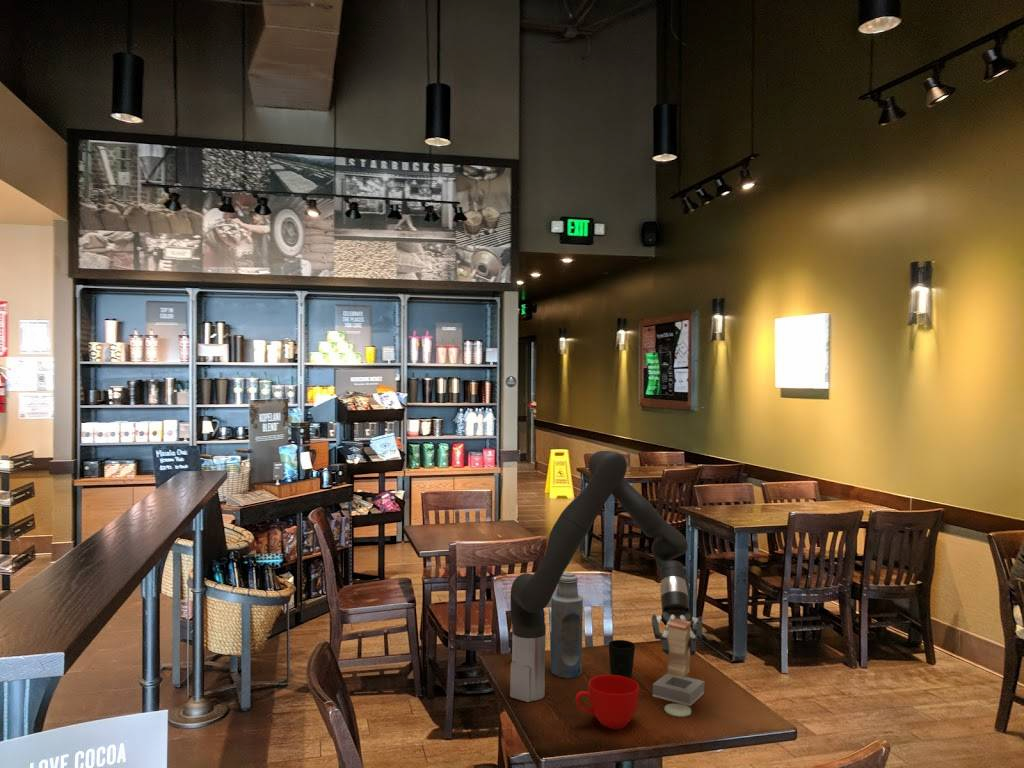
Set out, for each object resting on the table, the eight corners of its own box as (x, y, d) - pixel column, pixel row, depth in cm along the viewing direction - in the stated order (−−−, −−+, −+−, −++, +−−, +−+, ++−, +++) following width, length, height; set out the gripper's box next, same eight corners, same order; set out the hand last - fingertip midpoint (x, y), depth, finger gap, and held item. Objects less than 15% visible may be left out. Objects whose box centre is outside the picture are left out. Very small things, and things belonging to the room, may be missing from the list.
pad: (685, 719, 194) (685, 716, 194) (660, 712, 198) (660, 710, 198) (695, 710, 200) (695, 707, 200) (670, 703, 204) (670, 701, 204)
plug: (684, 678, 197) (685, 627, 196) (666, 674, 199) (667, 624, 199) (689, 671, 201) (691, 621, 200) (672, 667, 204) (673, 618, 203)
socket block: (690, 706, 203) (690, 693, 203) (652, 696, 209) (652, 684, 209) (704, 693, 212) (704, 681, 212) (667, 683, 218) (668, 672, 218)
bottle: (555, 679, 219) (557, 578, 220) (546, 667, 229) (548, 570, 229) (586, 677, 222) (588, 576, 222) (575, 665, 231) (577, 568, 232)
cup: (633, 692, 212) (634, 649, 212) (606, 689, 213) (607, 647, 213) (634, 681, 219) (635, 641, 219) (608, 679, 221) (609, 638, 221)
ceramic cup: (566, 716, 195) (567, 678, 195) (625, 710, 199) (626, 672, 200) (584, 739, 182) (585, 698, 182) (647, 731, 187) (648, 691, 187)
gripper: (649, 588, 208) (653, 646, 196) (702, 590, 207) (709, 648, 195) (647, 602, 213) (651, 658, 201) (698, 604, 212) (705, 661, 200)
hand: (679, 653), depth 198 cm, fingers closed on plug, 6 cm apart
